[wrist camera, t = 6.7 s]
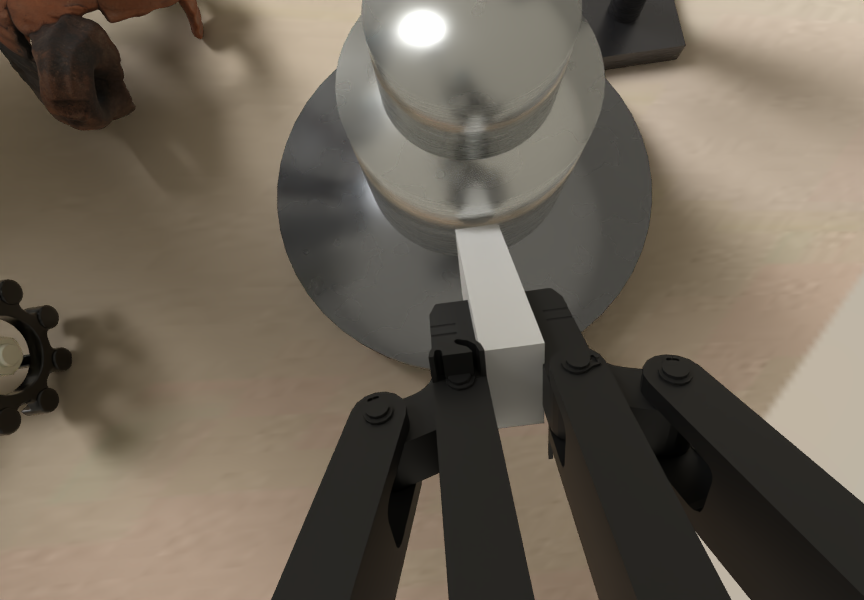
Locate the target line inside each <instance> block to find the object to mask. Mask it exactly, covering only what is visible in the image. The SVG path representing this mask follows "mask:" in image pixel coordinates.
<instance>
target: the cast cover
mask: <svg viewBox="0 0 864 600" xmlns="http://www.w3.org/2000/svg"><path fill="white" fill-rule="evenodd" d="M604 88H605V73H604V63H603V59H602V54H601V50H600V47H599V44H598V42H597V39H596V37H595V34H594V33H593V31H592V29H591V27H590V25H589V24H588V22H587V20H586V19H585V18H584V16H583V15H582V0H362V13H361V16H360V17H359V18H358V20H357V21H356V23H355V24H354V26H353V27H352V29H351V31H350V33H349V35H348V37H347V39H346V41H345V43H344V45H343V48H342V51H341V54H340V57H339V60H338V66H337V71H336V83H335V92H336V102H337V108H338V112H339V116H340V120H341V122H342V125H343V127H344V130H345V132H346V134H347V137H348V139H349V141H350V144H351V146H352V148H353V151H354V153H355V155H356V157H357V160H358V162H359V164H360V167H361V169H362V171H363V174H364V176H365V178H366V180H367V183H368V185H369V187H370V190H371V192H372V194H373V197H374V199H375V201H376V203H377V205H378V207H379V209H380V211H381V212H382V214H383V215H384V217H385V218H386V219H387V221H388V222H389V223H390V224H391V225H392V226H393V227H394V228H395V229H396V230H397V231H398V232H399V233H400V234H401V235H403V236H404V237H405V238H407V239H408V240H410V241H411V242H413V243H415V244H417V245H419V246H420V247H423V248H425V249H428V250H430V251H433V252H436V253H441V254H445V255H451V256H458V251H457V242H456V233H455V229H463V228H470V227H477V226H485V225H492V224H498V225H499V227H500V230H501V232H502V235H503V238H504V240H505V243H506V245H507V248H508V247H510V246H512V245H514V244H516V243H517V242H519V241H521V240H523V239H524V238H525V237H527V236H528V235H529V234H531V233H532V232H533V231H534V230H535V229H536V228H537V227H538V226H539V225H540V224H541V223H542V222H543V221H544V220H545V218H546V217H547V216H548V214H549V213H550V211H551V210H552V208H553V206H554V204H555V203H556V201H557V199H558V197H559V195H560V193H561V191H562V189H563V187H564V185H565V184H566V182H567V180H568V178H569V176H570V174H571V172H572V170H573V168H574V166H575V164H576V162H577V160H578V159H579V157H580V155H581V153H582V151H583V149H584V147H585V145H586V143H587V141H588V139H589V137H590V135H591V134H592V132H593V130H594V128H595V125H596V122H597V120H598V117H599V115H600V112H601V107H602V103H603V99H604Z"/></svg>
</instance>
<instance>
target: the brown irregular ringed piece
mask: <svg viewBox="0 0 864 600" xmlns="http://www.w3.org/2000/svg"><path fill="white" fill-rule="evenodd" d="M177 2H179V4H180V5H181V6H182V8H183V9H184V11H185V13H186V14H187V17H188V19H189V22H190V25H191V30H192V33H193V34H194V36H195V37H197V38H198V39H202V37H203V24H202V21H201V14H200V10H199V8H198V7H197V1H196V0H0V50H1V51H2V52H3V54H4V55H5V57H6V58H7V59H8V60H9V62H10V64H11V65H12V67H13V68H14V69H15V70H16V71H17V72H18V73H19V75H20V76H21V78H22V79H23V80H24V81H25V82H26V83H27V84H28V85H29V86H30V87H31V89H32V90H33V91H34V92H35V94H36V96H37V97H38V99H39V100H40V101H41V102H42V103H43V104H44V105H45V107H46V108H47V110H48V111H49V112H50V113H51V114H52V115H53V116H54V117H55V118H56V119H57V120H58V121H60V122H62V123H64V124H67V125H70V126H71V127H73V128H76V129H78V130H98V129H102V128H104V127H106V126H107V125H108V124H109V123H110V122H111V121H112V120H116V119H119V118H121V117H124V116H126V115H128V114H130V113H131V112H132V111H134V110H135V105H134V103H133V102H132V98H131V96H130V94H129V92H128V90H127V88H126V85H125V83H124V81H123V79H124V73H123V69H122V67H121V64H120V62H121V58H120V54H119V51H118V49H117V48H116V46H115V45H114V44H113V42H112V41H111V40H110V38H109V36H108V34H107V33H106V31H105V30H104V29H103V28H102V27H101V26H100V25H99V24H98V23H96V22H94V21H92V20H90V19H86V18H83V17H82V16H83V15H84V14H86V13H89V12H92V11H95V10H100V11H101V12H102V14H103V15H104V16H105V18H106V19H107V21H108V22H110V23H115V22H119V21H122V20H125V19H128V18H131V17H140V16H143V15H146V14H148V13H150V12H151V11H153V10H156V9H159V8H165V7H169V6H171V5H173V4H176V3H177ZM30 39H31V42H32V45H31V44H30Z"/></svg>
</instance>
